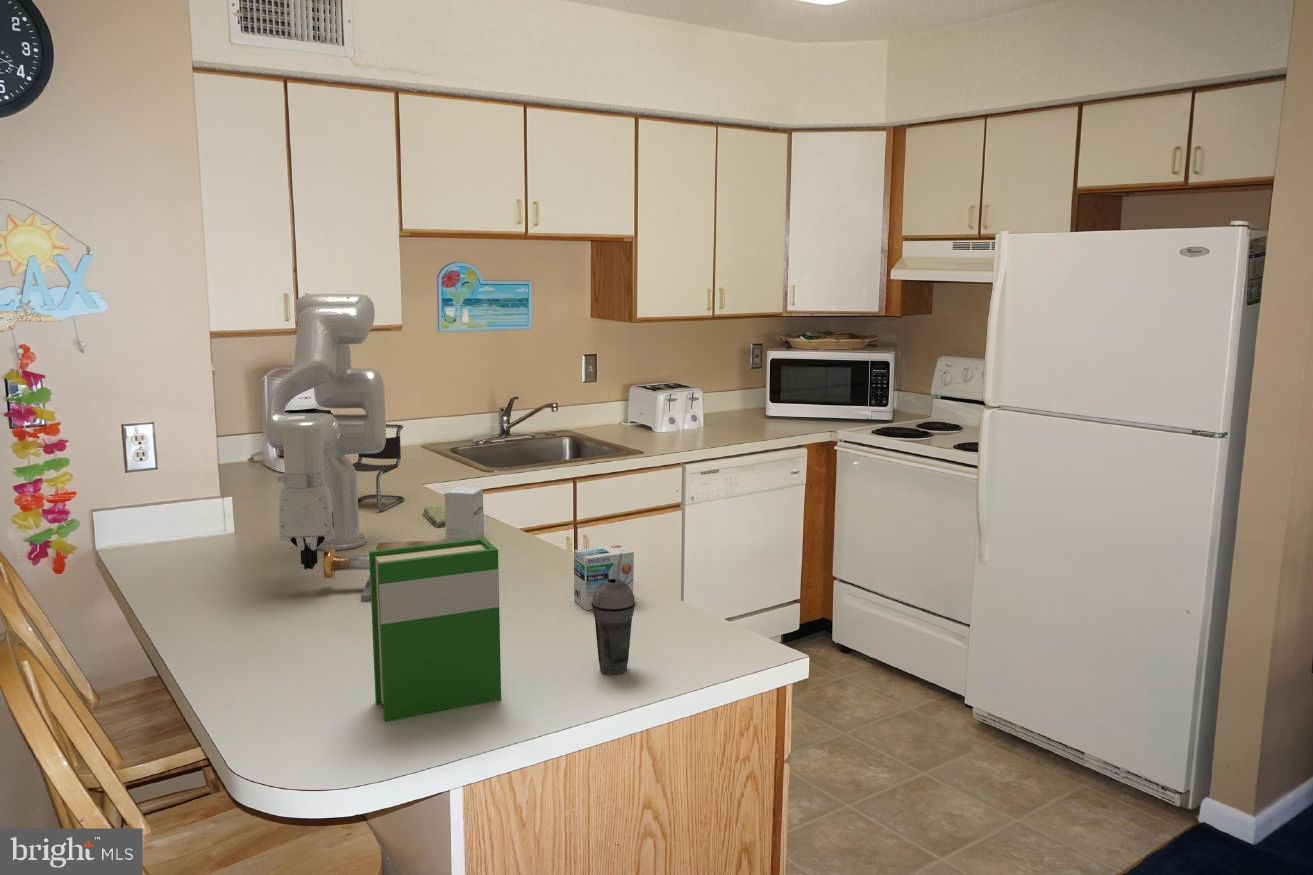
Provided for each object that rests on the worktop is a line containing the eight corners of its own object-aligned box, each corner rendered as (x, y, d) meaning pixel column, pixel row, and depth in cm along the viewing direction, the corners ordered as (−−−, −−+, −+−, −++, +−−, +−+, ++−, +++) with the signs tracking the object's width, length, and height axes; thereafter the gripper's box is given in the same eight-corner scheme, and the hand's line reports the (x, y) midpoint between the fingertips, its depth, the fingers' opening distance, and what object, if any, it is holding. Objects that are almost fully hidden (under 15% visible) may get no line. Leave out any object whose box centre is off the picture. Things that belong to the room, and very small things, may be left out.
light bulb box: (586, 611, 190) (585, 558, 188) (572, 601, 196) (572, 549, 194) (635, 603, 195) (635, 551, 193) (620, 593, 201) (620, 543, 199)
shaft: (323, 582, 198) (322, 553, 197) (329, 573, 203) (327, 545, 202) (424, 578, 201) (423, 550, 200) (426, 569, 207) (425, 542, 206)
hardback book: (384, 722, 142) (378, 564, 138) (375, 702, 149) (369, 551, 145) (501, 699, 150) (498, 549, 146) (487, 681, 157) (484, 537, 153)
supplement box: (473, 544, 236) (472, 493, 234) (445, 542, 237) (443, 492, 235) (485, 536, 243) (483, 487, 241) (457, 534, 245) (455, 485, 242)
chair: (408, 499, 282) (405, 424, 279) (380, 513, 266) (377, 434, 262) (366, 497, 285) (363, 423, 281) (336, 511, 268) (332, 432, 264)
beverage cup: (591, 661, 165) (590, 547, 162) (633, 660, 166) (634, 547, 162) (591, 679, 158) (591, 560, 155) (636, 678, 158) (637, 559, 155)
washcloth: (467, 510, 272) (467, 499, 271) (483, 525, 256) (482, 513, 255) (420, 515, 266) (420, 503, 266) (432, 530, 250) (432, 518, 250)
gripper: (261, 485, 192) (267, 574, 195) (340, 483, 194) (344, 571, 197) (270, 477, 199) (275, 563, 202) (346, 475, 201) (350, 560, 204)
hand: (309, 567), depth 200 cm, fingers closed
